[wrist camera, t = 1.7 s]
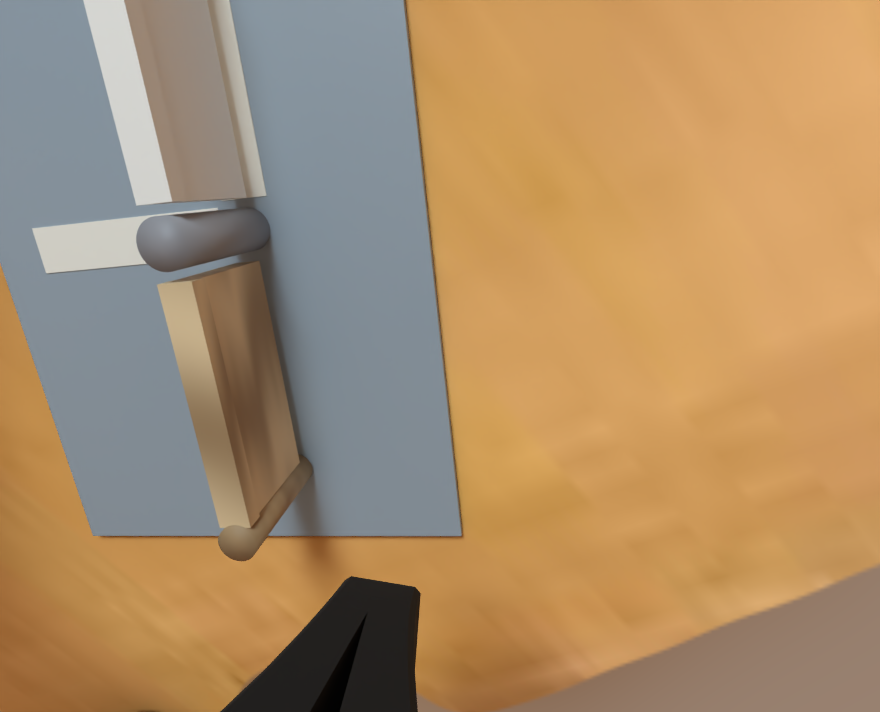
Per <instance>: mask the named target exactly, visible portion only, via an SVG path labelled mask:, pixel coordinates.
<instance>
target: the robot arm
mask: <svg viewBox="0 0 880 712" xmlns="http://www.w3.org/2000/svg"><path fill="white" fill-rule="evenodd" d="M419 606H420V592H419V591H418V590H417V589H416V588H415V587H412V586H406V585H400V584H394V583H388V582H382V581H376V580H370V579H364V578H358V577H352V576H351V577H349V578H348V579H346V580H345V581H344V582H343V584H342V585H341V586H340V587H339V588H338V590H337V591H336V592H335V593H334V595H333V596H332V597H331V598H330V599H329V601H328V602H327V603H326V604H325V605H324V606H323V608H322V609H321V610H320V611H319V612H318V613H317V614H316V616H315V617H314V618H313V619H312V620H311V621H310V622H309V623H308V624H307V626H306V627H305V628H304V629H303V630H302V631H301V632H300V633H299V634H298V635H297V636H296V637H295V639H294V640H293V641H292V642H291V643H290V644H289V645H288V646H287V647H286V648H285V649H284V650H283V651H282V652H281V653H280V654H279V655H278V656H277V657H276V658H275V660H274V661H273V662H272V663H271V664H270V665H269V666H268V667H267V668H266V669H265V670H264V671H263V672H262V673H261V674H260V675H259V676H257V677H256V678H255V679H254V680H253V681H252V682H251V683H250V684H249V685H248V686H247V687H246V688H245V689H244V690H243V691H242V692H241V693H240V694H239V695H238V696H236V697H235V698H234V699H233V700H232V701H231V702H230V703H229V704H228V705H227V706H226V707H225V708H224V709H223V710H222V711H221V712H418V711H417V698H416V683H415V660H416V647H417V633H418V620H419Z"/></svg>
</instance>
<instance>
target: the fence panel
mask: <svg viewBox="0 0 880 712" xmlns="http://www.w3.org/2000/svg"><path fill="white" fill-rule="evenodd" d="M157 287H158V291H159V295H160V299H161V303H162V306H163V310H164V314H165V318H166V322H167V326H168V330H169V334H170V337H171V341H172V345H173V349H174V353H175V357H176V361H177V364H178V368H179V372H180V376H181V380H182V384H183V388H184V391H185V395H186V399H187V403H188V407H189V411H190V415H191V418H192V422H193V426H194V430H195V434H196V438H197V442H198V445H199V449H200V453H201V457H202V461H203V465H204V469H205V472H206V476H207V480H208V484H209V488H210V492H211V496H212V499H213V503H214V507H215V511H216V515H217V519H218V523H219V526H220V528H224V529H223V531H222V532H221V533H220V535H219V538H218V543H219V546H220V548H221V550H222V551H223V553H224V554H225V555H226V556H228V557H229V558H231V559H233V560H236V561H246V560H249V559H251V558H252V557H253V556H254V554H255V553H256V552H257V550H258V549H259V547H260V546H261V545H262V543H263V542H264V540H265V539H266V538H267V536H268V535H269V534H270V532H271V531H272V529H273V528H274V527H275V525H276V524H277V522H278V521H279V520H280V518H281V517H282V516H283V514H284V513H285V511H286V510H287V509H288V507H289V506H290V504H291V503H292V502H293V500H294V499H295V498H296V496H297V495H298V493H299V492H300V491H301V489H302V488H303V487H304V485H305V484H306V482H307V481H308V480H309V478H310V477H311V475H312V471H313V469H312V465H311V463H310V461H309V460H308V459H307V458H306V457H304V456H302V455H300V454H298V451H297V446H296V441H295V436H294V431H293V426H292V421H291V416H290V411H289V406H288V401H287V396H286V391H285V386H284V381H283V376H282V371H281V366H280V361H279V356H278V351H277V346H276V341H275V336H274V331H273V326H272V321H271V316H270V311H269V306H268V301H267V296H266V291H265V286H264V281H263V277H262V272H261V267H260V262H259V261H250V262H240V263H234V264H231V265H227V266H224V267H220V268H217V269H213V270H209V271H206V272H202V273H199V274H195V275H192V276H188V277H185V278H181V279H178V280H173V281H168V282H165V283H161V284H157Z"/></svg>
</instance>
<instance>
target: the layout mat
mask: <svg viewBox="0 0 880 712" xmlns="http://www.w3.org/2000/svg"><path fill="white" fill-rule="evenodd" d="M207 3H208V8H209V13H210V18H211V23H212V28H213V33H214V38H215V43H216V48H217V52H218V57H219V62H220V67H221V72H222V77H223V82H224V87H225V92H226V97H227V102H228V107H229V112H230V117H231V122H232V127H233V132H234V137H235V142H236V147H237V152H238V157H239V162H240V167H241V172H242V177H243V182H244V187H245V192H246V198H238V199H229V200H217V201H201V202H185V203H168V204H153V205H139V206H136V202H135V198H134V195H133V191H132V187H131V183H130V179H129V175H128V171H127V168H126V164H125V160H124V156H123V152H122V148H121V144H120V141H119V137H118V133H117V129H116V125H115V121H114V117H113V114H112V110H111V106H110V102H109V98H108V94H107V90H106V87H105V83H104V79H103V75H102V71H101V67H100V63H99V59H98V56H97V52H96V48H95V44H94V40H93V36H92V32H91V29H90V25H89V21H88V17H87V13H86V9H85V5H84V2H83V0H0V263H1V266H2V269H3V272H4V275H5V278H6V281H7V284H8V287H9V290H10V293H11V296H12V299H13V301H14V304H15V307H16V310H17V313H18V316H19V319H20V322H21V325H22V328H23V331H24V334H25V337H26V340H27V343H28V346H29V349H30V351H31V354H32V357H33V360H34V363H35V366H36V369H37V372H38V375H39V378H40V381H41V384H42V387H43V390H44V393H45V396H46V399H47V401H48V404H49V407H50V410H51V413H52V416H53V419H54V422H55V425H56V428H57V431H58V434H59V437H60V440H61V443H62V446H63V449H64V451H65V454H66V457H67V460H68V463H69V466H70V469H71V472H72V475H73V478H74V481H75V484H76V487H77V490H78V493H79V496H80V499H81V501H82V504H83V507H84V510H85V513H86V516H87V519H88V522H89V525H90V528H91V531H92V534H93V536H219V535H220V533H221V532H222V531H223V529H224V528H220V526H219V523H218V519H217V515H216V511H215V507H214V503H213V499H212V496H211V492H210V488H209V484H208V480H207V476H206V472H205V469H204V465H203V461H202V457H201V453H200V449H199V445H198V442H197V438H196V434H195V430H194V426H193V422H192V418H191V415H190V411H189V407H188V403H187V399H186V395H185V391H184V388H183V384H182V380H181V376H180V372H179V368H178V364H177V361H176V357H175V353H174V349H173V345H172V341H171V337H170V334H169V330H168V326H167V322H166V318H165V314H164V310H163V306H162V303H161V299H160V295H159V291H158V287H157V284H161V283H165V282H168V281H173V280H178V279H181V278H185V277H188V276H192V275H195V274H199V273H202V272H206V271H209V270H213V269H217V268H220V267H224V266H227V265H231V264H234V263H240V262H250V261H259V262H260V267H261V272H262V277H263V281H264V286H265V291H266V296H267V301H268V306H269V311H270V316H271V321H272V326H273V331H274V336H275V341H276V346H277V351H278V356H279V361H280V366H281V371H282V376H283V381H284V386H285V391H286V396H287V401H288V406H289V411H290V416H291V421H292V426H293V431H294V436H295V441H296V446H297V451H298V454H300V455H302V456H304V457H306V458H307V459H308V460H309V461H310V463H311V465H312V469H313V471H312V475H311V477H310V478H309V480H308V481H307V482H306V484H305V485H304V487H303V488H302V489H301V491H300V492H299V493H298V495H297V496H296V498H295V499H294V500H293V502H292V503H291V504H290V506H289V507H288V509H287V510H286V511H285V513H284V514H283V516H282V517H281V518H280V520H279V521H278V522H277V524H276V525H275V527H274V528H273V529H272V531H271V532H270V534H269V535H268V536H462V523H461V514H460V504H459V495H458V486H457V477H456V467H455V458H454V449H453V439H452V430H451V421H450V412H449V402H448V393H447V384H446V374H445V365H444V356H443V347H442V337H441V328H440V319H439V309H438V300H437V291H436V282H435V272H434V263H433V254H432V244H431V235H430V226H429V217H428V207H427V198H426V189H425V179H424V170H423V161H422V152H421V142H420V133H419V124H418V114H417V105H416V96H415V87H414V77H413V68H412V59H411V49H410V40H409V31H408V22H407V12H406V3H405V0H207ZM237 208H254V209H256V210H258V211H260V212H261V213H262V214H263V215H264V216H265V217H266V219H267V220H268V222H269V225H270V238H269V240H268V242H267V244H266V245H265V246H264V247H263V248H261V249H259V250H255V251H251V252H247V253H243V254H239V255H235V256H232V257H228V258H224V259H220V260H216V261H212V262H208V263H204V264H200V265H196V266H192V267H189V268H185V269H181V270H177V271H173V272H161V271H158V270H155V269H153V268H152V267H150V266H149V265H148V264H147V263H146V262H145V261H144V260H143V258H142V257H141V255H140V253H139V251H138V248H137V244H136V235H137V231H138V228H139V226H140V225H141V223H142V222H143V221H144V220H146V219H147V218H150V217H153V216H162V215H173V214H183V213H194V212H205V211H216V210H226V209H237Z"/></svg>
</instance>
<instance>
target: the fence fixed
mask: <svg viewBox="0 0 880 712" xmlns="http://www.w3.org/2000/svg"><path fill="white" fill-rule="evenodd" d="M83 2H84V5H85V9H86V13H87V17H88V21H89V25H90V29H91V32H92V36H93V40H94V44H95V48H96V52H97V56H98V59H99V63H100V67H101V71H102V75H103V79H104V83H105V87H106V90H107V94H108V98H109V102H110V106H111V110H112V114H113V117H114V121H115V125H116V129H117V133H118V137H119V141H120V144H121V148H122V152H123V156H124V160H125V164H126V168H127V171H128V175H129V179H130V183H131V187H132V191H133V195H134V198H135V202H136V206H139V205H153V204H168V203H185V202H201V201H217V200H229V199H238V198H246V192H245V187H244V182H243V177H242V172H241V167H240V162H239V157H238V152H237V147H236V142H235V137H234V132H233V127H232V122H231V117H230V112H229V107H228V102H227V97H226V92H225V87H224V82H223V77H222V72H221V67H220V62H219V57H218V52H217V48H216V43H215V38H214V33H213V28H212V23H211V18H210V13H209V8H208V3H207V0H83ZM269 238H270V225H269V222H268V220H267V219H266V217H265V216H264V215H263V214H262V213H261V212H260V211H258V210H256V209H254V208H237V209H226V210H216V211H205V212H194V213H183V214H173V215H162V216H153V217H150V218H147V219H146V220H144V221H143V222H142V223H141V225H140V226H139V228H138V231H137V235H136V244H137V248H138V251H139V253H140V255H141V257H142V258H143V260H144V261H145V262H146V263H147V264H148V265H149V266H150V267H152V268H153V269H155V270H158V271H161V272H173V271H177V270H181V269H185V268H189V267H192V266H196V265H200V264H204V263H208V262H212V261H216V260H220V259H224V258H228V257H232V256H235V255H239V254H243V253H247V252H251V251H255V250H259V249H261V248H263V247H264V246H265V245H266V244H267V242H268V240H269Z"/></svg>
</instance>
